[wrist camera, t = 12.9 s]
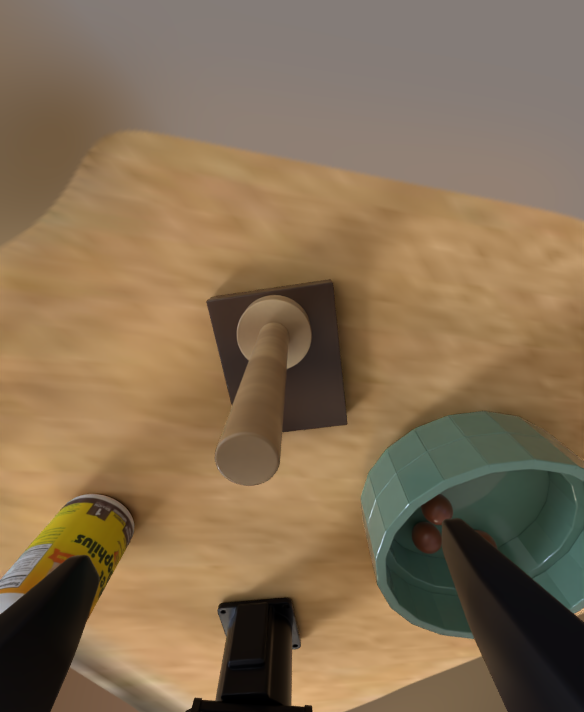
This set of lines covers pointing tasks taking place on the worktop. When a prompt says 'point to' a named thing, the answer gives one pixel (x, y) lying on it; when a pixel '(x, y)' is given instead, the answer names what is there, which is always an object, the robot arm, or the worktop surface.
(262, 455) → the wooden pestle
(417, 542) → the bead
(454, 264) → the worktop surface
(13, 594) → the supplement bottle
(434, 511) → the bead
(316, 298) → the dark grey slate tile
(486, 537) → the bead
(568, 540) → the bowl
